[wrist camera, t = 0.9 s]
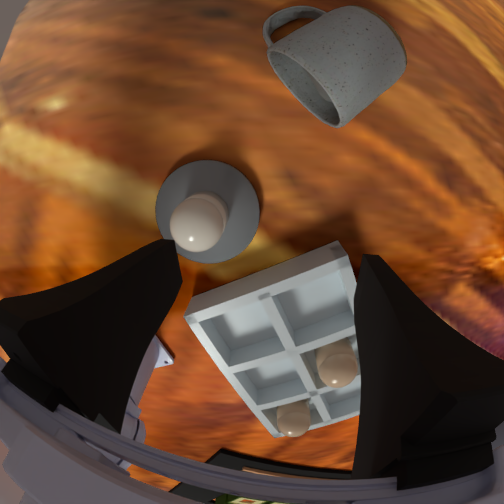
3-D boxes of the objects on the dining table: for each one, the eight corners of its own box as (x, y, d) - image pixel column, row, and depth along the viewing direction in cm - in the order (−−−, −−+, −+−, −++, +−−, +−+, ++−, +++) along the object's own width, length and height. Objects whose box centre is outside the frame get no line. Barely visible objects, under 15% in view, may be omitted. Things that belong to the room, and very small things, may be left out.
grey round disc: (188, 272, 27) (185, 277, 26) (143, 188, 24) (138, 190, 23) (276, 236, 25) (276, 240, 24) (232, 141, 22) (231, 141, 21)
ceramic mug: (390, 80, 19) (433, 61, 12) (327, 132, 21) (353, 126, 14) (306, -1, 17) (318, -46, 10) (238, 47, 19) (225, 8, 12)
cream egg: (195, 243, 25) (179, 268, 20) (174, 202, 23) (152, 219, 18) (237, 225, 24) (229, 247, 19) (216, 182, 23) (202, 193, 18)
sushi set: (396, 469, 46) (400, 482, 41) (295, 517, 61) (295, 527, 57) (221, 445, 40) (218, 466, 36) (164, 493, 56) (161, 505, 51)
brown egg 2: (320, 365, 29) (326, 400, 24) (309, 341, 28) (315, 377, 23) (353, 353, 28) (365, 387, 24) (345, 327, 27) (358, 362, 22)
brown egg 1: (283, 413, 33) (284, 445, 28) (271, 397, 32) (271, 430, 27) (312, 405, 32) (316, 437, 27) (302, 388, 31) (306, 422, 26)
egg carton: (274, 418, 35) (274, 438, 32) (192, 297, 28) (183, 316, 25) (378, 385, 32) (385, 404, 29) (337, 240, 25) (347, 254, 22)
